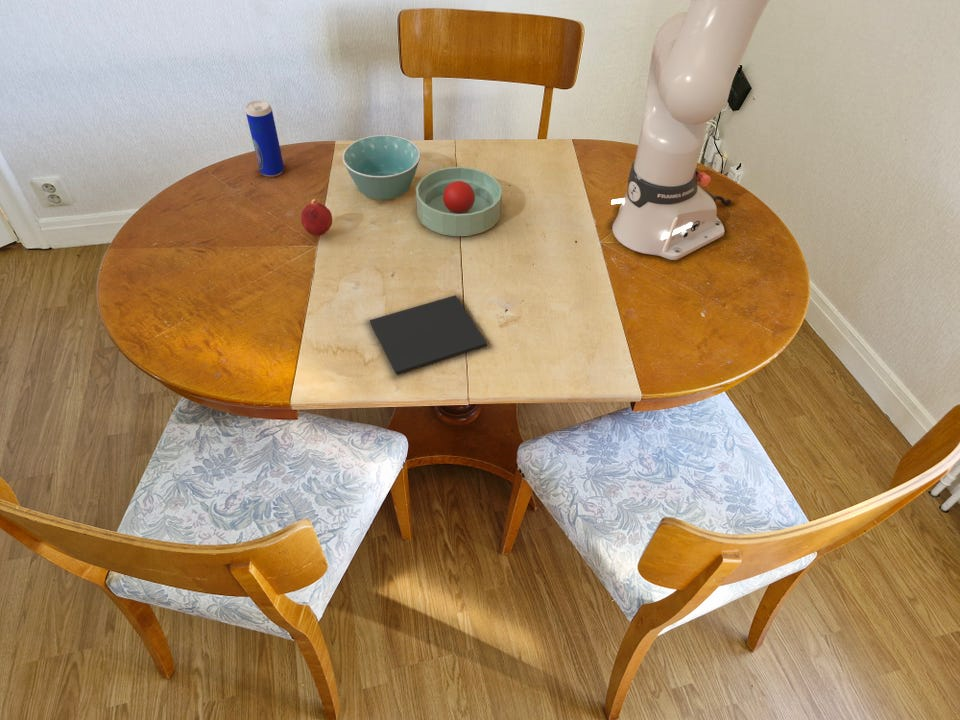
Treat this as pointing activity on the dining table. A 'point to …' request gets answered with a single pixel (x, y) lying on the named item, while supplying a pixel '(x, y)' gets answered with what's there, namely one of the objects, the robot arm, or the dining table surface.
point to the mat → (427, 334)
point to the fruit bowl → (455, 224)
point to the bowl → (382, 165)
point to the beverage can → (265, 138)
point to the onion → (316, 218)
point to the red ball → (458, 197)
